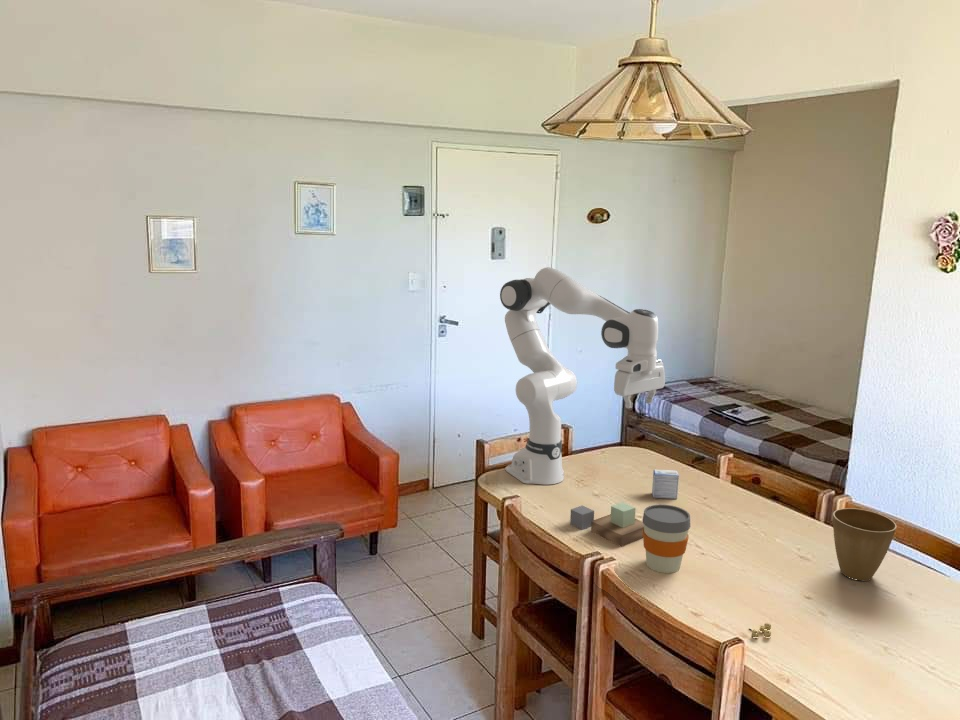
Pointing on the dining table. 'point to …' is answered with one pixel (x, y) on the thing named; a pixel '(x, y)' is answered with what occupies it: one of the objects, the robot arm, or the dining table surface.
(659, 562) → the reusable coffee cup
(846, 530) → the plant pot
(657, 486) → the medicine box
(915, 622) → the dining table surface
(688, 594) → the dining table surface
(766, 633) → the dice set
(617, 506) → the sage block
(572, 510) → the charcoal block
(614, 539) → the walnut plinth
